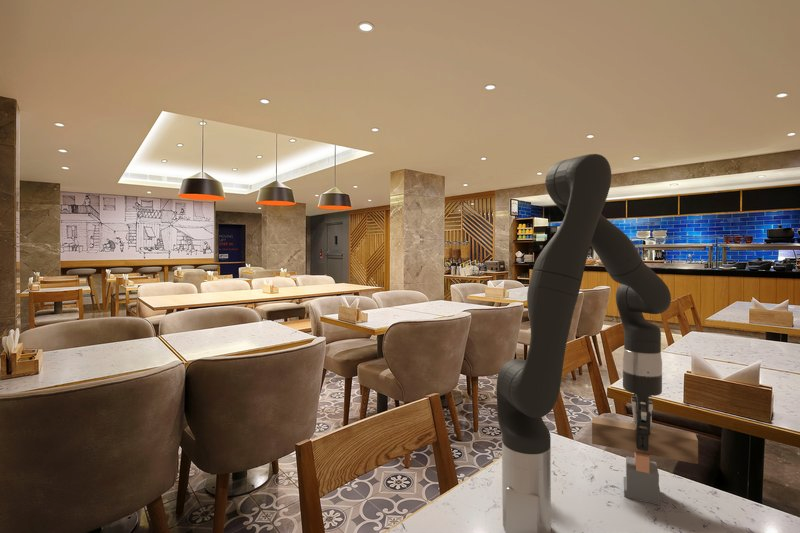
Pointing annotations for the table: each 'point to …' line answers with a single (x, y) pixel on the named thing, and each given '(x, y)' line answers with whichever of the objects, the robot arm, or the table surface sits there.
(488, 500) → the table surface
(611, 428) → the brown wooden beam
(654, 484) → the balance stand
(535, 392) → the robot arm
